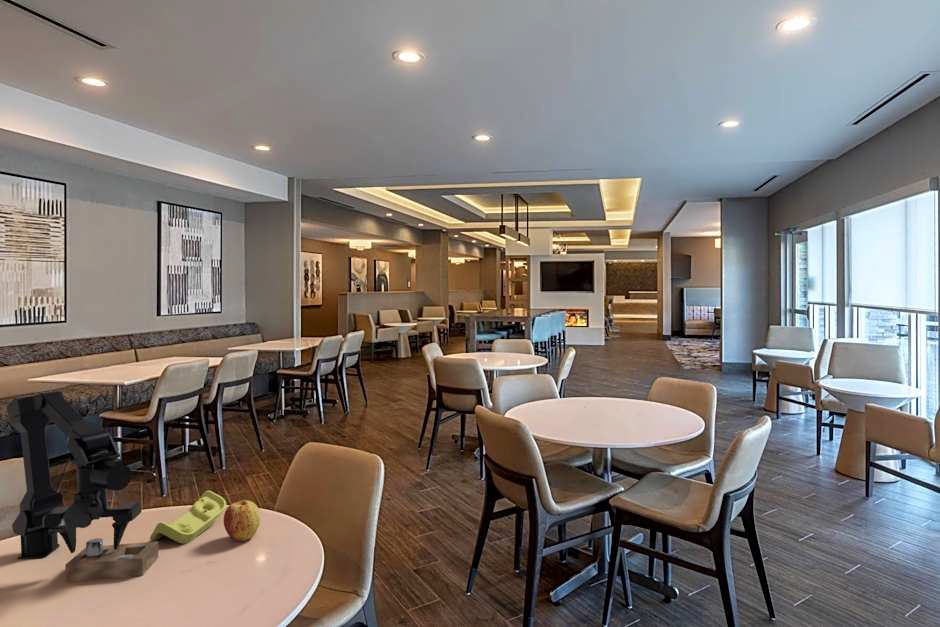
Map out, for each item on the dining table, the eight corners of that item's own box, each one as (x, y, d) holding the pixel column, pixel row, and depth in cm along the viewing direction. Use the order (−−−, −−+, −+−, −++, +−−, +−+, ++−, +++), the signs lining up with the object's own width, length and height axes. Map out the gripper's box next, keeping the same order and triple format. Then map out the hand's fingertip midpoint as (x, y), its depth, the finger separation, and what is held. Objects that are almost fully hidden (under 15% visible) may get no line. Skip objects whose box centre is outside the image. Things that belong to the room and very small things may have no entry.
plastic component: (188, 537, 143) (155, 519, 144) (179, 561, 144) (146, 543, 145) (233, 502, 162) (203, 487, 163) (224, 524, 164) (195, 508, 165)
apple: (228, 533, 150) (227, 496, 150) (263, 529, 152) (262, 493, 152) (221, 547, 141) (220, 508, 141) (259, 543, 143) (257, 505, 143)
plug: (84, 574, 129) (83, 544, 128) (91, 568, 132) (90, 538, 131) (99, 573, 129) (98, 543, 129) (106, 567, 132) (105, 537, 132)
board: (65, 582, 125) (65, 563, 125) (86, 563, 134) (86, 545, 134) (142, 575, 128) (142, 556, 128) (158, 557, 137) (157, 540, 137)
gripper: (25, 499, 120) (28, 571, 121) (119, 493, 123) (122, 563, 124) (55, 482, 131) (58, 548, 132) (141, 477, 134) (143, 541, 135)
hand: (94, 550), depth 130 cm, fingers open, 9 cm apart
